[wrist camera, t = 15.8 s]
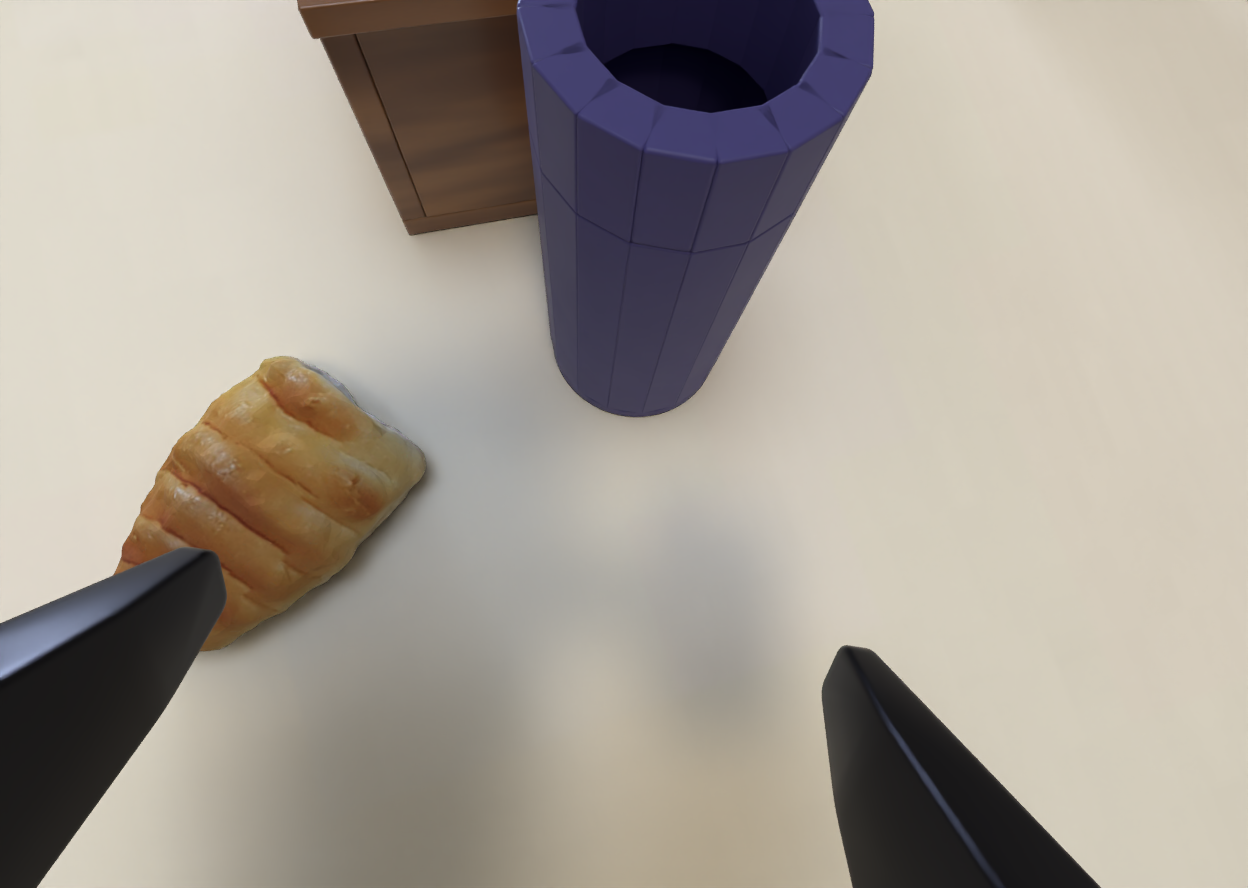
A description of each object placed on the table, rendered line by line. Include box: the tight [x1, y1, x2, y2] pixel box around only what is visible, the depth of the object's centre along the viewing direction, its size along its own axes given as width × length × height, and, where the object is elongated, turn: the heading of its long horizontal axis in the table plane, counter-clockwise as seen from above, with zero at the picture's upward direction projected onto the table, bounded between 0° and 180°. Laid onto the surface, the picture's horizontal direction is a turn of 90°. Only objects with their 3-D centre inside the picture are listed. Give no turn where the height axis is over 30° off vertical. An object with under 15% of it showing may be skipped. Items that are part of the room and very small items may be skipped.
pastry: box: [113, 356, 426, 651], centre depth 18 cm, size 9×7×4 cm
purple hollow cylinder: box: [516, 0, 874, 417], centre depth 16 cm, size 6×6×13 cm
